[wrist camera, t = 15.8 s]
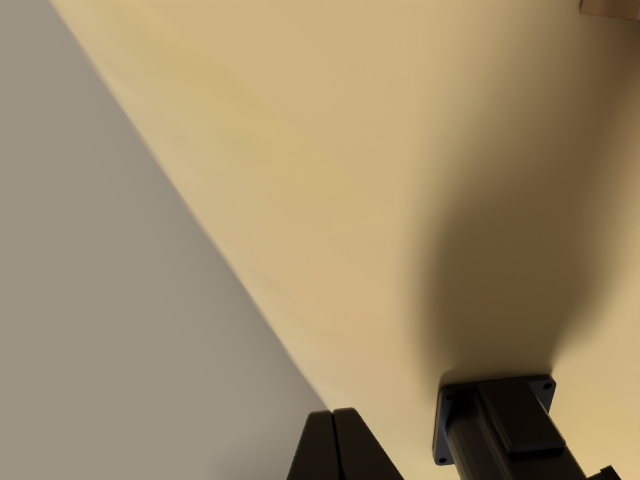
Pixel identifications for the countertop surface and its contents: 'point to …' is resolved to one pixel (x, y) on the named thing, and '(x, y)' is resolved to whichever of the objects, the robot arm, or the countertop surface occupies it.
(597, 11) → the tan long bar
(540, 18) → the countertop surface
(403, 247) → the countertop surface
